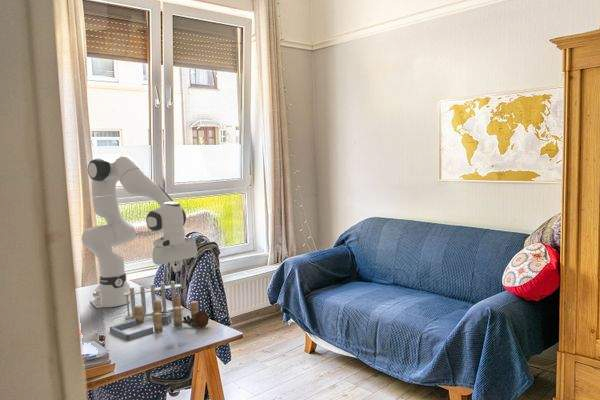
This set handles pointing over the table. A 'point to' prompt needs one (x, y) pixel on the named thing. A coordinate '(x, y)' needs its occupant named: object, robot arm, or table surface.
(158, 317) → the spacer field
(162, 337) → the table surface
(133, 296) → the test tube rack
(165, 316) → the hex nut
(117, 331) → the tray
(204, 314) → the toy
